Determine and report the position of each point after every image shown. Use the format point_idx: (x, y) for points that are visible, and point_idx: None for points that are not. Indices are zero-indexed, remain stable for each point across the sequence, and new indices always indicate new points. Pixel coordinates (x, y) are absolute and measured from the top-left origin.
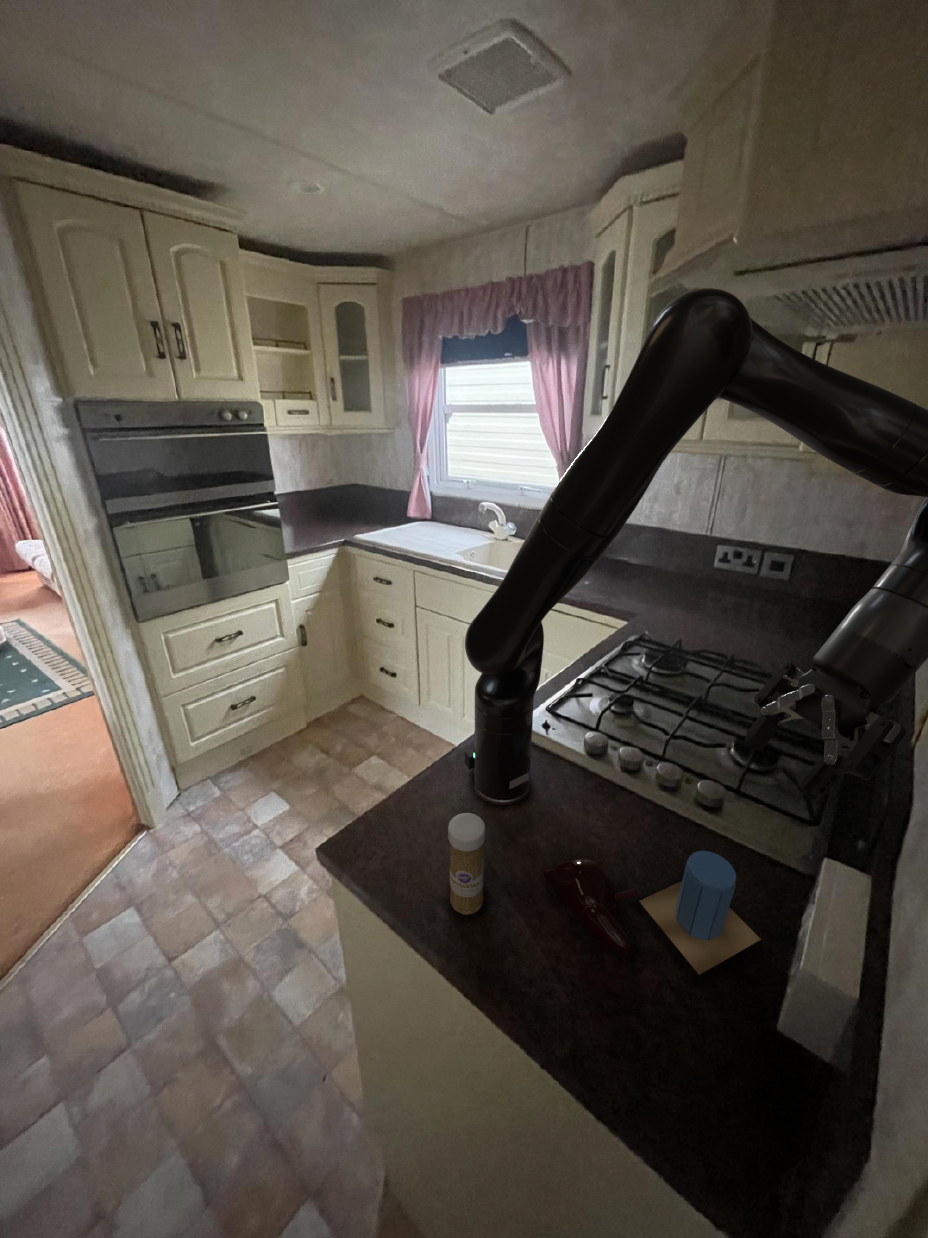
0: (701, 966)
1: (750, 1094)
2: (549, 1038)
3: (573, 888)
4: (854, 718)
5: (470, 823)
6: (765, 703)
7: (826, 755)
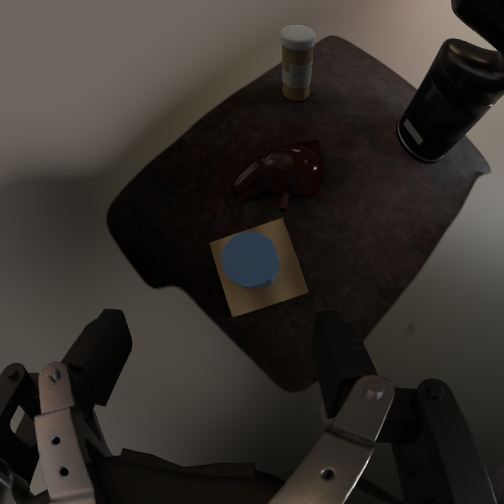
0: (215, 248)
1: (144, 245)
2: (193, 132)
3: (283, 146)
4: (28, 499)
5: (300, 33)
6: (408, 409)
7: (61, 376)
